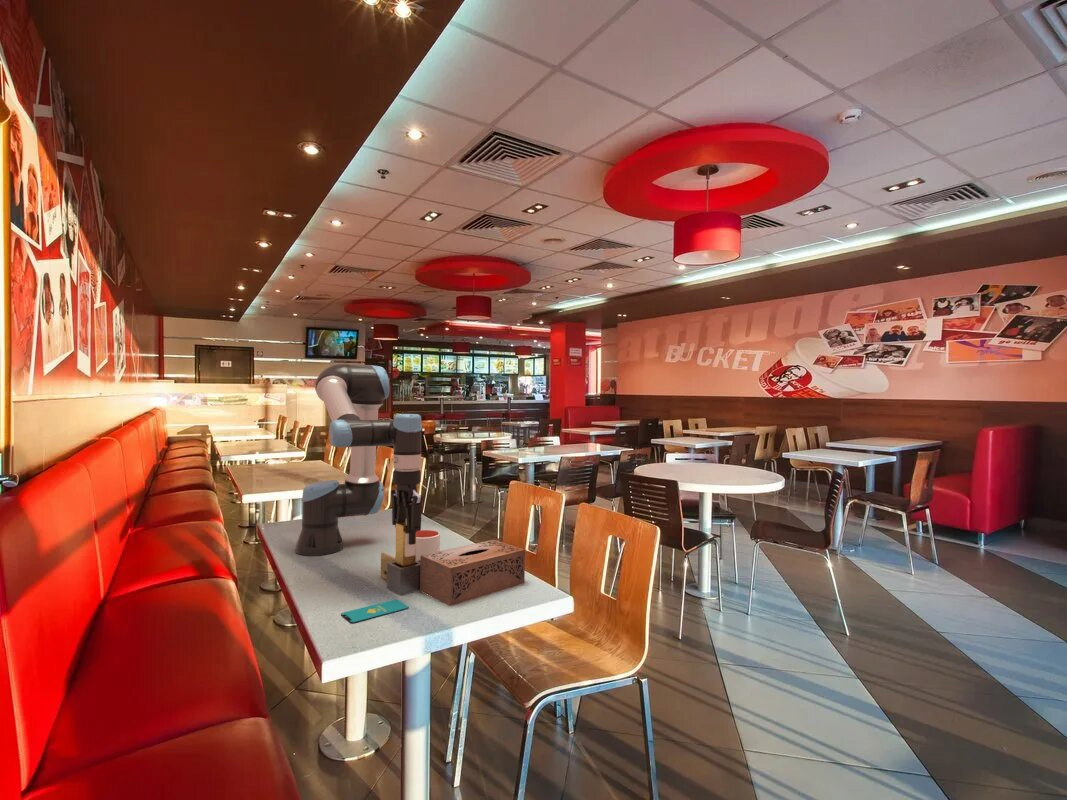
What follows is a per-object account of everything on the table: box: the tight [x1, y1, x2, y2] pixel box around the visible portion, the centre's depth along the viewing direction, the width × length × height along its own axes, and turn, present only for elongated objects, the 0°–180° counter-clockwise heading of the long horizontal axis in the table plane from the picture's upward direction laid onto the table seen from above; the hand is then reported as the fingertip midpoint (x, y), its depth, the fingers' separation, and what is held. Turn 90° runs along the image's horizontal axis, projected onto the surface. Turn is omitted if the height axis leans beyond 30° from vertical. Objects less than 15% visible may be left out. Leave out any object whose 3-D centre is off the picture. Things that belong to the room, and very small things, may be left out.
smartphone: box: [340, 599, 410, 625], centre depth 130 cm, size 7×1×15 cm
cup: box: [416, 529, 441, 561], centre depth 168 cm, size 10×10×10 cm
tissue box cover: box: [419, 539, 526, 607], centre depth 149 cm, size 26×14×10 cm, turn 133°
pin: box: [394, 522, 416, 566], centre depth 146 cm, size 4×4×11 cm
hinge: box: [380, 552, 420, 596], centre depth 153 cm, size 17×17×7 cm
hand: (405, 553), depth 146 cm, fingers closed on pin, 4 cm apart
